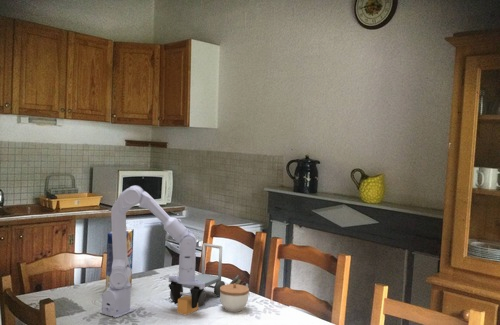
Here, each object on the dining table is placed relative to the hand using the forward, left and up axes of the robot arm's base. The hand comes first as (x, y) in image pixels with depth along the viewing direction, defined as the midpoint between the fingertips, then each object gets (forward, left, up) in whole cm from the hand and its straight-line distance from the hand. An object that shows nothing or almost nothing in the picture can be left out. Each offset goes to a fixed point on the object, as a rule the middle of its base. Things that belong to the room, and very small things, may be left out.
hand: (185, 305), depth 167 cm
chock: (+2, 0, -3) cm, 3 cm away
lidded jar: (+13, -12, -3) cm, 18 cm away
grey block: (+28, -5, -3) cm, 29 cm away
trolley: (+16, +5, -2) cm, 17 cm away
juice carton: (+3, +35, -3) cm, 35 cm away
